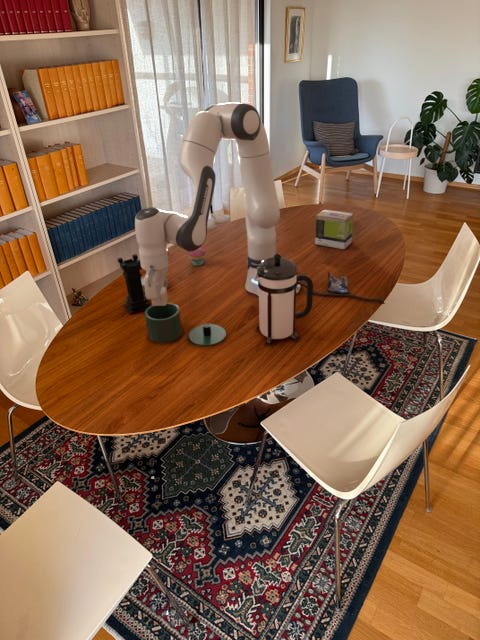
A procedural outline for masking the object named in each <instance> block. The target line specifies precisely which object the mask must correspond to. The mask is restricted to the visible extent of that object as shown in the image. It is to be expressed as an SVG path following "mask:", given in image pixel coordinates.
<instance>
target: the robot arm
mask: <svg viewBox="0 0 480 640" xmlns="http://www.w3.org/2000/svg"><path fill="white" fill-rule="evenodd" d="M266 131H267V130H266V128H265V125H264V123H263V122H262V119H261V116H260V113H259V111H258V109H257V108H256V107H255V106H254V105H251V104H250V103H245V102H241V103H240V102H231V101H230V102H225V103H213V104H210V105H209V106H207V107H206V108H205V109H204V110H203V111H202V110H201V111H199V112H197V113H195V114H194V116H193V117H192V119H191V121H190V122H189V124H188V127H187V129H186V131H185V133H184V136H183V138H182V141H181V144H180V147H179V150H178V157H177V161H178V164H179V167H180V168H181V170H182V171H183V173H184V174H185V175H186V176H187V177H188V178H189V179H190V180H191V181H192V183H193V187H194V190H193V191H194V192H193V196H192V202H191V206H190V211H189V213H188V215H183V214H181V213H178V212H176V211H175V212H174V211H169V210H161V209H159V208H158V207H154V206H150V207H149V206H148V207H145V208H142V209H140V210H139V211H137V213H136V215H135V218H134V230H135V231H134V232H135V238H136V239H135V240H136V242H137V245H138V258H139V260H140V263H141V267H142V270H144V271H146V273H145V274H144V276H145V278H144V286H145V292H144V293H145V294H144V296H145V297H146V299H147V301H148V300H149V301H151V300H154V301H155V303H160V301H161V298H160V296H159V294H160V291H161V289H162V287H164V281H165V278H166V279H167V276H168V273H169V264H170V263H169V256H170V255H169V254H170V252H169V251H170V250H169V248H168V247H167V246H168V245H169V244H171V245H173V246H174V245H175V246H177V247H179V248H181V249H183V250H185V251H186V252H189V251H190V252H191V251H195V250H197V249H199V248H201V247H202V246H204V244H205V242H206V241H207V237H208V222H209V216H210V213H211V207H212V202H213V198H214V192H215V187H216V172H215V170H214V163H215V159H216V155H217V152H218V148H219V145H220V143H221V141H222V140H226V141H233V140H234V141H235V143H236V148H237V156H238V157H237V158H238V163H239V170H240V176H241V182H242V185H243V190H244V197H243V208H244V219H245V229H246V238H247V241H246V242H247V254H246V269H247V274H246V279H245V284H244V288H245V290H246V291H247V292H249V293H251V294H253V295H256V296H258V297H259V287H258V281H254V279H255V276H256V273H257V268H258V267H259V265H260V263H261V262H262V261H264V260H265V259H268V258H272V257H274V255H275V254H280V255H281V253H280V252H277V232H276V225H277V224H278V222H279V220H280V218H281V217H280V216H281V211H280V205H279V199H278V193H277V188H276V183H275V180H274V174H273V166H272V160H271V150H270V144H269V143H270V142H269V138H268V135H267V132H266ZM301 287H304V288H305V289H307V284H305V283H302V282H301V281H297V286H296V295H297V294H298V293H300V291H301ZM313 295H316V296H322V297H323V296H324V297H325V296H326V297H349V298H354V299H359V300H363V301H368V302H380V303H381V305H385V302H384V300H382V299H380V298H376V297H375V298H370V297H369V298H368V297H364V296H359V295H355V294H350V293H349V294H338V293H325V292H324V293H323V292H316V291H314V290H313Z"/></svg>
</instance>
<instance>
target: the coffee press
mask: <svg viewBox="0 0 480 640" xmlns="http://www.w3.org/2000/svg"><path fill="white" fill-rule="evenodd" d="M298 268H299V267H298V266H297V265H296V263H295V262H294V261H293V260H292V259H290V258H288V257H283V256H282V255H281V253H280V254H279V253H278V254H275V255H274V257H272V258H268V259H265V260H264V261H262V262H261V263H260V265H259V267H258V268H257V273H256V276H255V279H254V281H258V287H259V296H258V317H259V319H258V320H259V321H258V323H259V325H258V326H257V327H256V330H258V329H259V332H260V333H261V334H262V335H263V336H264V337H266V342H265V343H266V345H270V346H271V345H272V343H273V340H283V339H286V338H289V337H290V338H292V340H294V341H296V340H297V339H298V338H299V335H298V333H297V332H296V323H297V322H296V321H297V320H298V319H302V318H304V317H306V316H308V315H309V314H310V312H311V310H312V308H313V302H314V301H313V300H314V294H313V291H314V283H313V280H312V278H311V277H309V276H308V275H306V274H299V275H298V273H299V269H298ZM297 281H300V282H305V283H306V285H307V288H306V305H305V308H304V309H303V311H301V312H296V311H297V310H296V309H297V308H296V307H297V306H296V304H297V301H296V300H297V294H296V286H297Z"/></svg>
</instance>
